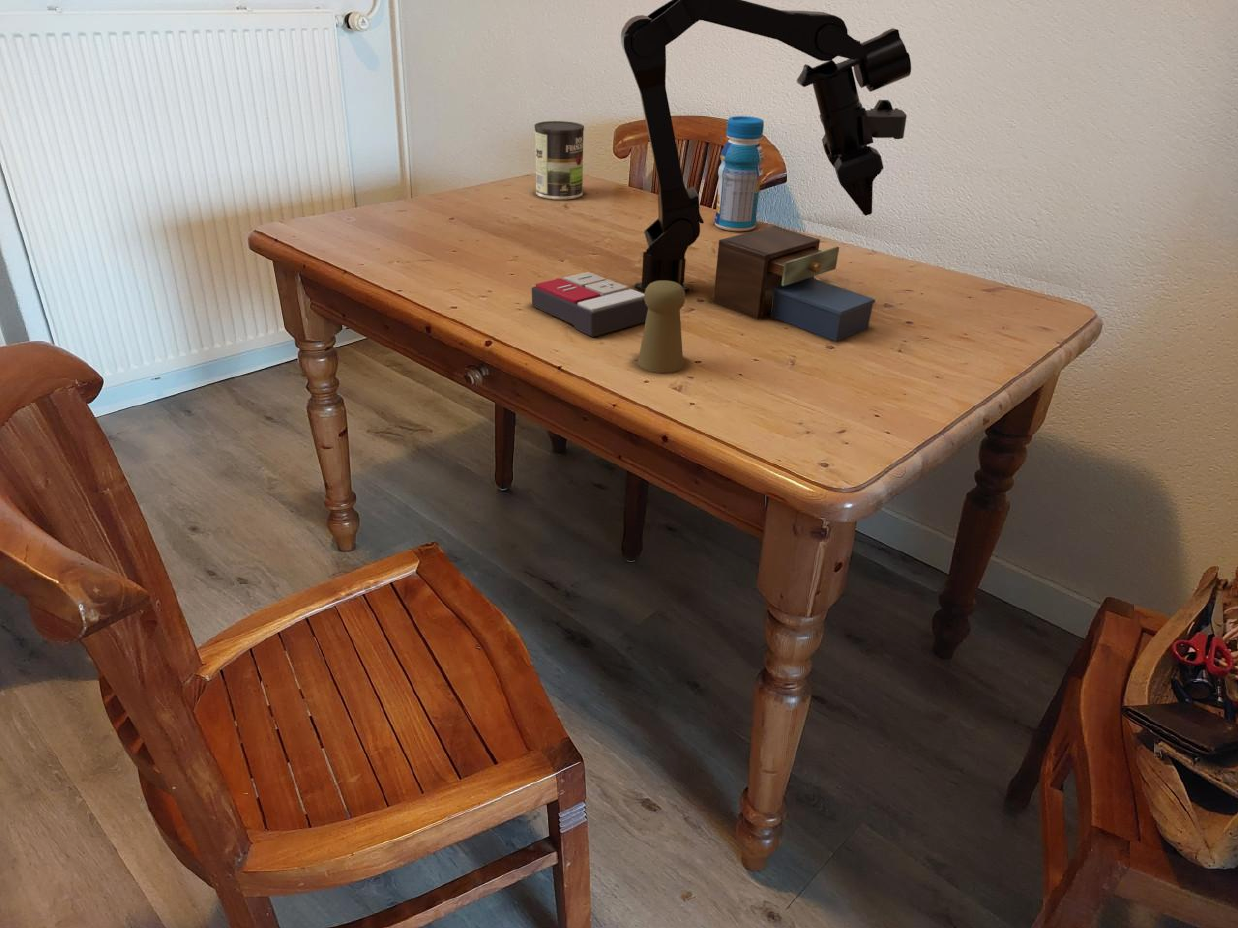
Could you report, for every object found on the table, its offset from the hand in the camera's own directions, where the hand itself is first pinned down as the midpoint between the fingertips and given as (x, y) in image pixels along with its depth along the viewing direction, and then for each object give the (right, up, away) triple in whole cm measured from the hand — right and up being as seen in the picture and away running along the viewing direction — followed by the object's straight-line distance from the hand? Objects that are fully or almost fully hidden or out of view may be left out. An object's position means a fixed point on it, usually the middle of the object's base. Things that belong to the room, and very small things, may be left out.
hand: (863, 204), depth 134 cm
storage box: (-8, -19, -5) cm, 21 cm away
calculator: (-42, -18, -5) cm, 46 cm away
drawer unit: (-15, -15, +2) cm, 21 cm away
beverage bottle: (-15, +7, +38) cm, 41 cm away
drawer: (-12, -11, -4) cm, 17 cm away
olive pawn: (-32, -27, -19) cm, 46 cm away
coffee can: (-51, +18, +54) cm, 76 cm away
